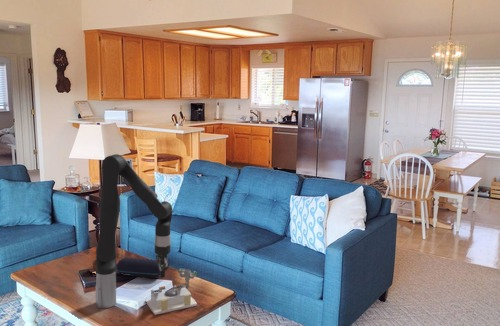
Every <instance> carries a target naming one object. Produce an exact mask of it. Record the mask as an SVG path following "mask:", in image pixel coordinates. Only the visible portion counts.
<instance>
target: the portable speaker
mask: <svg viewBox="0 0 500 326" xmlns="http://www.w3.org/2000/svg"><path fill="white" fill-rule="evenodd" d="M116 271H117V272H119V273H123V274H130V275H133V276H132V277H135V276H136V277H137V278H146V279H147V278H149V279H157V278H159V277H160V270H159V267H158V264H157V259H148V258H146V259H145V258H136V257H135V258H134V257H123V258H121V259H120V260H119V261H118V263H117V265H116ZM119 273H118V274H119Z"/></svg>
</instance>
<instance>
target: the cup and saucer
mask: <svg viewBox="0 0 500 326" xmlns="http://www.w3.org/2000/svg"><path fill="white" fill-rule="evenodd" d="M92 268H93V269H94V270H96V259H95V260H93V261H92V266H89V268H88V270H89V269H92Z"/></svg>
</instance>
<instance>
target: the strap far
mask: <svg viewBox="0 0 500 326" xmlns="http://www.w3.org/2000/svg"><path fill="white" fill-rule="evenodd" d="M181 284H182V285H176V286H177V289H178V288H181V287H182V286H184V287H186V285H188V282H186V281H184V282H181Z"/></svg>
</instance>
